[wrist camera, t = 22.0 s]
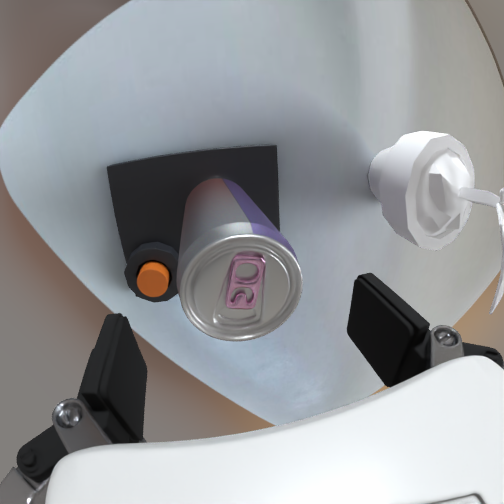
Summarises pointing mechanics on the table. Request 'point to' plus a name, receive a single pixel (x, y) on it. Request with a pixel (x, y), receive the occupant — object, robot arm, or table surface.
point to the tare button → (153, 279)
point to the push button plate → (181, 200)
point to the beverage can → (234, 265)
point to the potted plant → (430, 191)
